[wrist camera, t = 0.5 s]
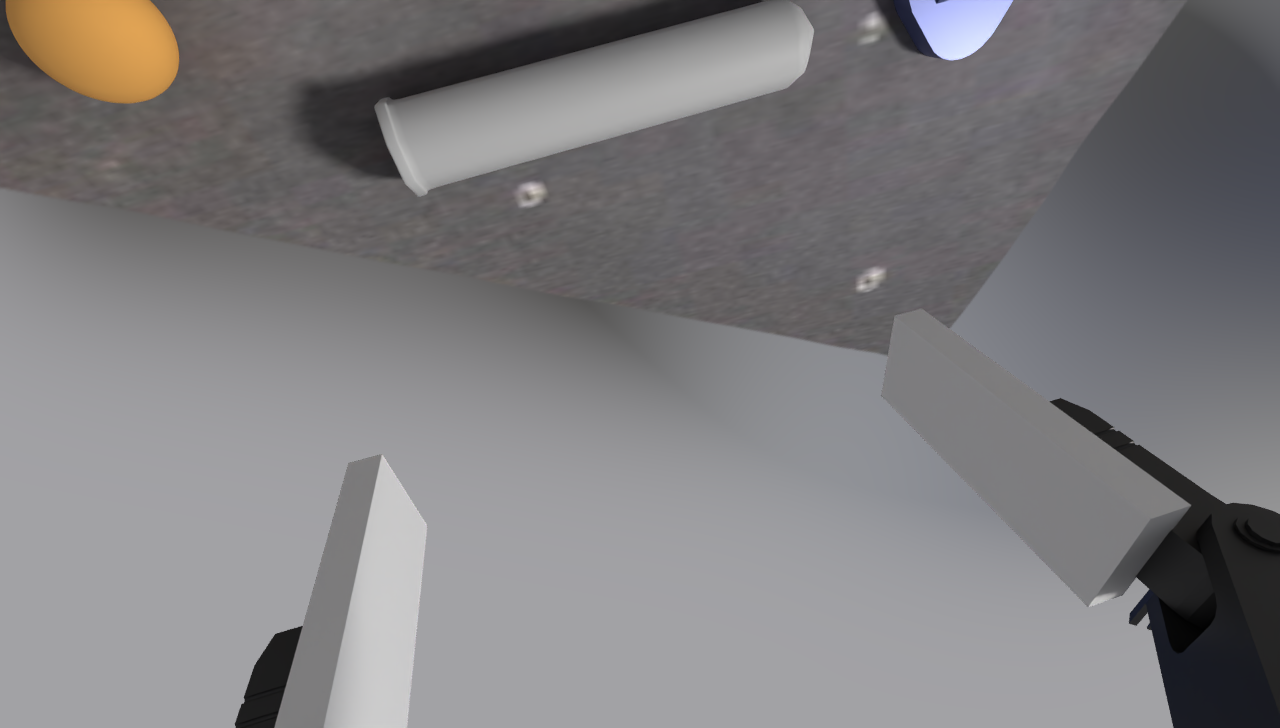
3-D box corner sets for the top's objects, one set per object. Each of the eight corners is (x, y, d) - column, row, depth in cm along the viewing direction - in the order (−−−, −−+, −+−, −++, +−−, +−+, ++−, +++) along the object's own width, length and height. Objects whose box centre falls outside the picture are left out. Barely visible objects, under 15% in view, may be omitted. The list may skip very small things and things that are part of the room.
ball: (34, -51, 24) (-64, -57, 20) (181, -24, 26) (119, -25, 21) (83, 84, 27) (7, 104, 23) (211, 100, 29) (163, 121, 24)
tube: (821, -32, 29) (363, 89, 27) (835, 75, 30) (406, 196, 29) (780, 2, 34) (392, 106, 32) (794, 93, 35) (427, 197, 34)
